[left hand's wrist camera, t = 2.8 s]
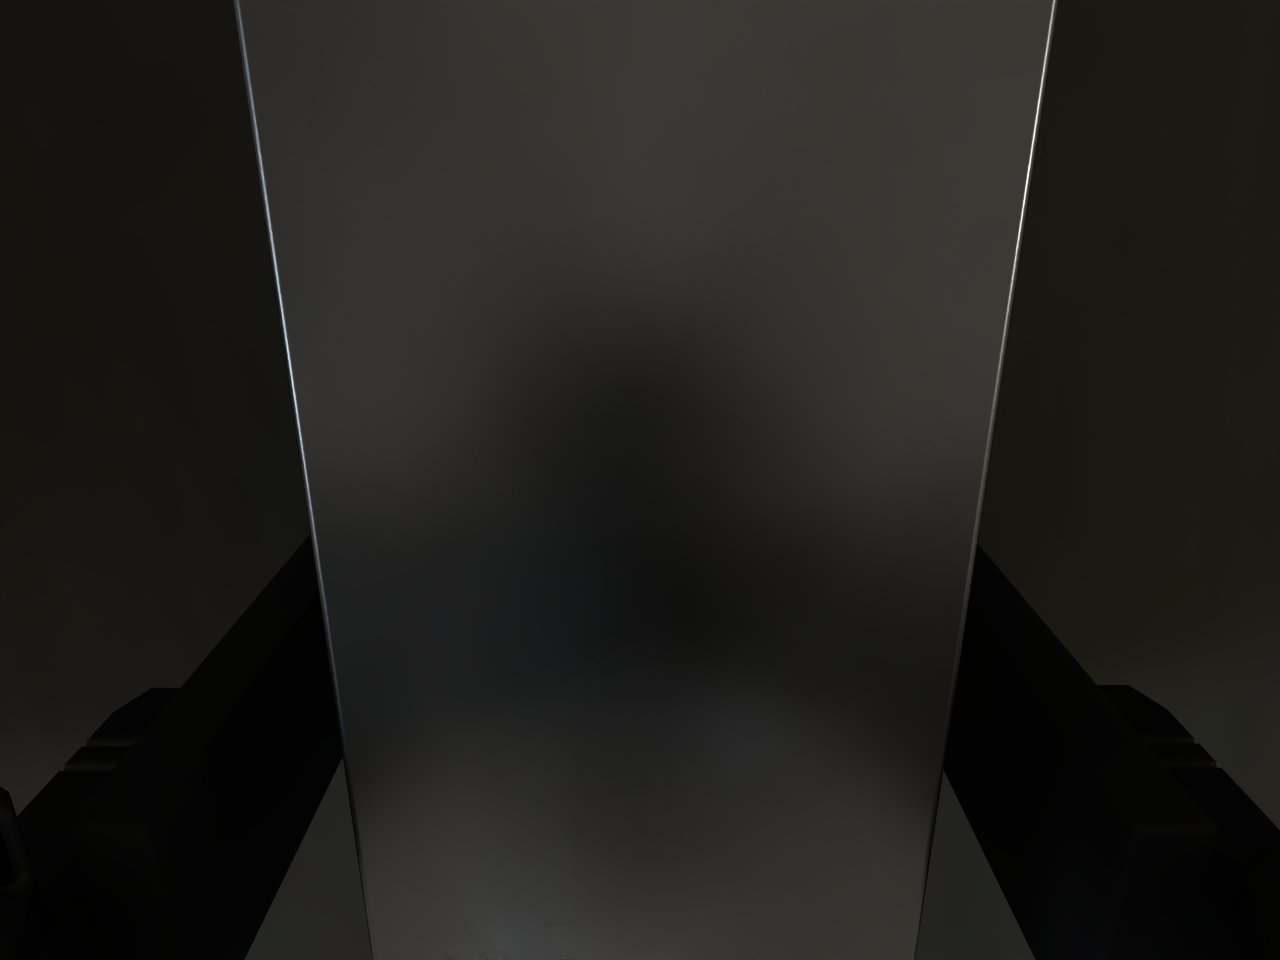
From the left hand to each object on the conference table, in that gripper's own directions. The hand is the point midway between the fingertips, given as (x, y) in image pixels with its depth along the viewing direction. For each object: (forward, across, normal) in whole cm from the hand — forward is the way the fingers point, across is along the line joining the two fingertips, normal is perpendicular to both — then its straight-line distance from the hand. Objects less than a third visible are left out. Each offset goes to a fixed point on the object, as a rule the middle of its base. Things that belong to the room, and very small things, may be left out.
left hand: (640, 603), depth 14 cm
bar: (+1, 0, -13) cm, 13 cm away
